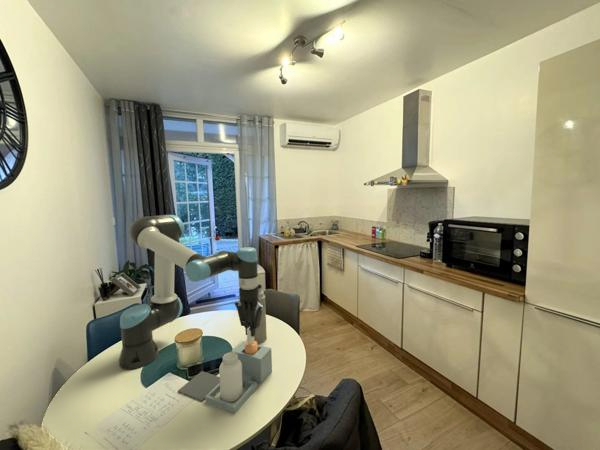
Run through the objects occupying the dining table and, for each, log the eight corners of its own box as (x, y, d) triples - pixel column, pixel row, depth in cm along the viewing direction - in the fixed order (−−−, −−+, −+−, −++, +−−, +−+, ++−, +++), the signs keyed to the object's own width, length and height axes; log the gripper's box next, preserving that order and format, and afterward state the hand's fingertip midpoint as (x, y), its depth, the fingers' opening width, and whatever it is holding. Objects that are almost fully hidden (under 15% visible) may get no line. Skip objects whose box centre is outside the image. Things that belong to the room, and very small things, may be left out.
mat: (177, 392, 98) (177, 390, 98) (201, 372, 108) (201, 371, 108) (202, 401, 93) (201, 400, 93) (224, 380, 103) (224, 378, 103)
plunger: (243, 362, 106) (242, 345, 105) (250, 355, 110) (249, 339, 110) (253, 365, 104) (252, 348, 103) (260, 358, 108) (259, 342, 108)
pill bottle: (237, 404, 91) (235, 364, 90) (216, 401, 93) (214, 361, 91) (246, 388, 99) (244, 350, 97) (226, 385, 101) (224, 348, 99)
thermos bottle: (258, 333, 139) (256, 282, 136) (269, 337, 135) (268, 284, 132) (247, 340, 132) (245, 286, 129) (259, 344, 128) (257, 289, 125)
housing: (204, 401, 93) (202, 375, 92) (244, 362, 114) (243, 341, 113) (236, 414, 87) (234, 386, 86) (272, 371, 108) (271, 348, 107)
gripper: (229, 287, 103) (232, 344, 106) (257, 292, 98) (259, 351, 100) (241, 281, 110) (243, 335, 112) (267, 285, 105) (269, 341, 107)
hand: (250, 342), depth 106 cm, fingers closed
